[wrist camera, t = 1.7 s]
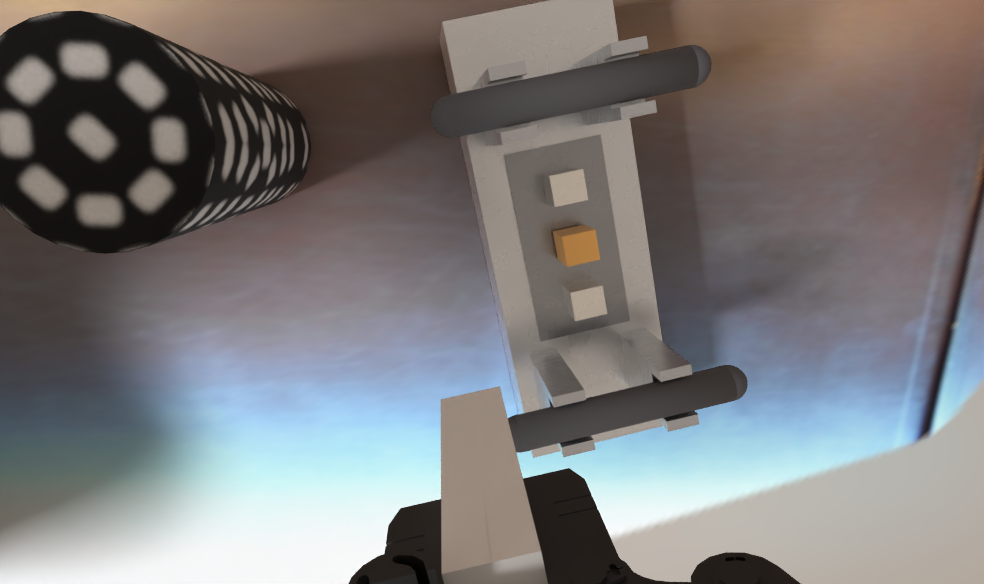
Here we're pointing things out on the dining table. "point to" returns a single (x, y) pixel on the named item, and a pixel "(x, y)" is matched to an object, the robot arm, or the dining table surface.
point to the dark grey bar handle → (626, 407)
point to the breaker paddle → (576, 245)
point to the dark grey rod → (570, 91)
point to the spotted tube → (134, 135)
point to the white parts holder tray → (562, 215)
